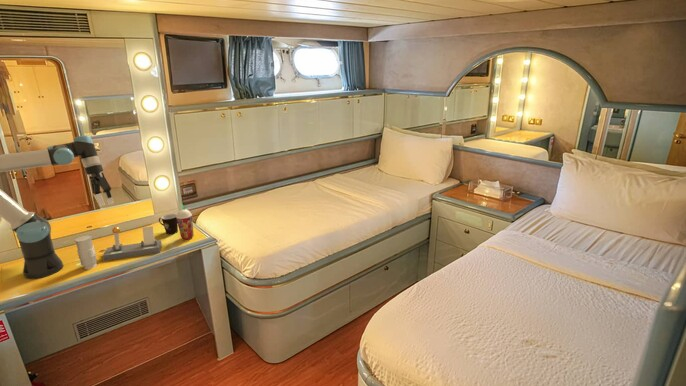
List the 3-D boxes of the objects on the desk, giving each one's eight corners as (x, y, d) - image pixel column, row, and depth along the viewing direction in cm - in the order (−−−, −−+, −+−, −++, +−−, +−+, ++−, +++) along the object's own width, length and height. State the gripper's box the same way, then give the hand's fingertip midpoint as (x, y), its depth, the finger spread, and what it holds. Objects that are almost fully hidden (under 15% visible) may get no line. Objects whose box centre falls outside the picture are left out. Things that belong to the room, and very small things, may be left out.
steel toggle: (112, 248, 194) (110, 227, 195) (114, 248, 197) (112, 227, 198) (120, 247, 195) (118, 226, 196) (122, 247, 198) (120, 226, 199)
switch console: (103, 261, 191) (101, 251, 189) (108, 252, 200) (106, 243, 198) (159, 252, 199) (158, 243, 197) (161, 245, 208) (160, 235, 206)
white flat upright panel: (144, 244, 199) (142, 227, 200) (144, 244, 200) (142, 227, 201) (154, 243, 201) (152, 226, 202) (154, 243, 202) (153, 226, 203)
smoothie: (197, 235, 220) (193, 202, 214) (191, 241, 212) (185, 207, 206) (184, 234, 220) (179, 202, 215) (176, 240, 213) (171, 207, 207)
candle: (80, 271, 181) (73, 242, 177) (83, 265, 187) (75, 237, 183) (97, 267, 184) (90, 239, 179) (99, 261, 190) (92, 234, 186)
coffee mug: (182, 231, 225) (179, 216, 222) (168, 236, 219) (165, 220, 216) (173, 227, 233) (170, 211, 230) (159, 231, 226) (156, 215, 223)
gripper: (108, 160, 189) (123, 201, 192) (92, 166, 205) (106, 204, 209) (92, 164, 183) (107, 205, 187) (77, 170, 199) (91, 208, 203)
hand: (106, 204), depth 198 cm, fingers open, 13 cm apart
